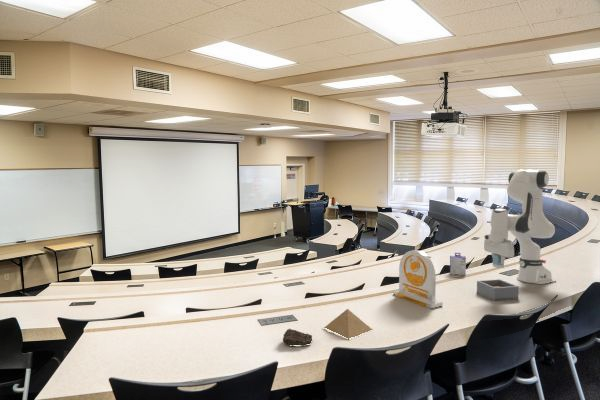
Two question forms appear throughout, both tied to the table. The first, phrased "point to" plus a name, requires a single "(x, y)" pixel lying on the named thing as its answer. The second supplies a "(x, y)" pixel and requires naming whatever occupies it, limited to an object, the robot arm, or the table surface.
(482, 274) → the table surface
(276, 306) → the table surface
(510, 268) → the table surface
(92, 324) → the table surface
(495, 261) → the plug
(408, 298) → the award
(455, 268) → the ink cartridge box
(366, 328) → the model pyramid
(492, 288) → the walled box
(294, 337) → the dark brown rock
